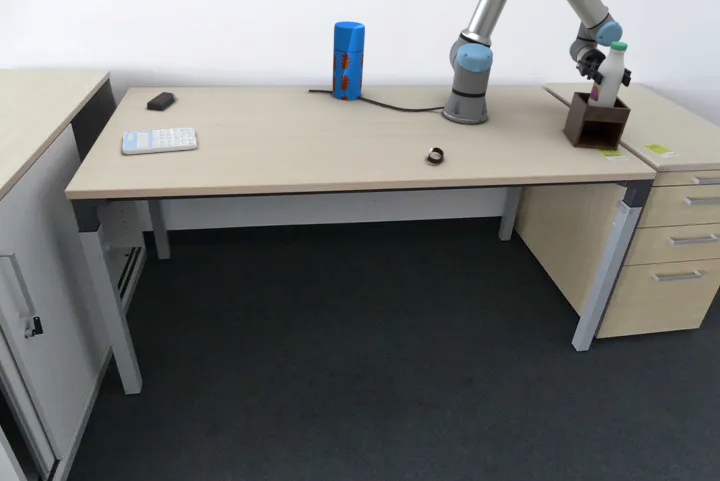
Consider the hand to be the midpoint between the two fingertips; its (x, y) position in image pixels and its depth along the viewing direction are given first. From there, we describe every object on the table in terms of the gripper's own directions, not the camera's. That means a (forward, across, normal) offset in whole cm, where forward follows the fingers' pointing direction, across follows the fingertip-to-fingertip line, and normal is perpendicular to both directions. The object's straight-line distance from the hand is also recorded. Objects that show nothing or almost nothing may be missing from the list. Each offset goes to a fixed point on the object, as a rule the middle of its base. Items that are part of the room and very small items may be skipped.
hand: (614, 81), depth 160 cm
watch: (+20, +53, -21) cm, 60 cm away
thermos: (-31, +83, -21) cm, 91 cm away
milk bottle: (-5, 0, -10) cm, 11 cm away
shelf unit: (-5, 0, -21) cm, 22 cm away
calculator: (+23, +133, -21) cm, 137 cm away
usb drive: (-8, +144, -21) cm, 146 cm away
